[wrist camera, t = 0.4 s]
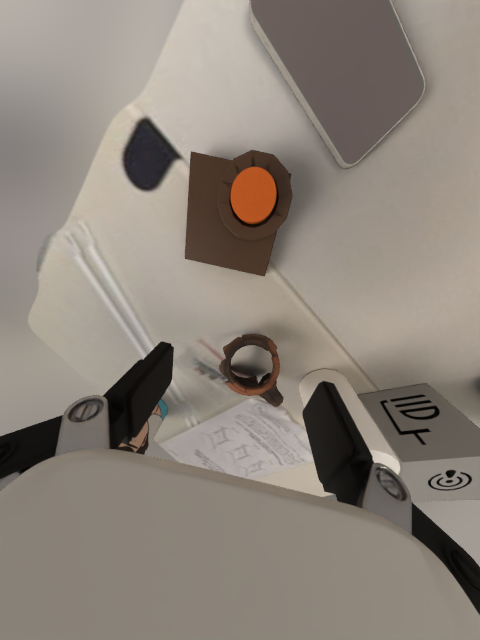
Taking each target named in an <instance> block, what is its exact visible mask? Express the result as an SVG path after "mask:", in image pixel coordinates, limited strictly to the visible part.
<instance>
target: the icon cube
mask: <svg viewBox="0 0 480 640" xmlns="http://www.w3.org/2000/svg"><path fill="white" fill-rule="evenodd" d="M358 397H359V399H360V401H361V402H362V404H363V405H364V407H365V409H366V410H367V412H368V413H369V415H370V416H371V418H372V420H373V421H374V423H375V424H376V426H377V427H378V429H379V430H380V432H381V434H382V435H383V437H384V438H385V440H386V441H387V443H388V445H389V446H390V448H391V449H392V451H393V452H394V454H395V455H396V457H397V459H398V460H399V463H400V472H399V474H398V476H399V477H400V478H401V479H402V481H403V482H404V483H405V485H406V486H407V488H408V490H409V492H410V495H411V499H412V502H425V501H453V500H454V501H455V500H480V428H479V427H478V426H476V425H475V424H474V423H473V422H472V421H470V420H469V419H468V418H467V417H466V416H465V415H463V414H462V413H461V412H460V411H459V410H457V409H456V408H455V407H454V406H453V405H451V404H450V403H449V402H448V401H447V400H446V399H444V398H443V397H442V396H441V395H440V394H438V393H437V392H436V391H435V390H434V389H432V388H431V387H430V386H429V385H428V384H427V383H425V384H420V385H414V386H408V387H402V388H396V389H390V390H384V391H378V392H373V393H367V394H361V395H358Z"/></svg>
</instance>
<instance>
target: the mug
mask: <svg viewBox="0 0 480 640" xmlns="http://www.w3.org/2000/svg"><path fill="white" fill-rule="evenodd" d="M322 381H327V382H331V383H334V385H335V386H336V388H337V390H338V392H339V394H340V396H341V398H342V400H343V401H344V403H345V405H346V407H347V409H348V411H349V413H350V415H351V416H352V418H353V420H354V422H355V424H356V426H357V428H358V430H359V432H360V433H361V435H362V437H363V439H364V441H365V443H366V445H367V447H368V448H369V450H370V452H371V454H372V456H373V458H372V459H373V461H374V463H381V464H383V465H386V466H387V467H389V468H390V469H392V470H393V471H394V472H395V473H396V474H397V475H398V474H399V472H400V463H399V460H398V459H397V457H396V455H395V454H394V452H393V451H392V449H391V448H390V446H389V445H388V443H387V441H386V440H385V438H384V437H383V435H382V434H381V432H380V430H379V429H378V427H377V426H376V424H375V423H374V421H373V420H372V418H371V416H370V415H369V413H368V412H367V410H366V409H365V407H364V405H363V404H362V402H361V401H360V399H359V398H358V396H357V394H356V393H355V391H354V390H353V388H352V387H351V385H350V384H349V382H348V380H347V379H346V377H345V376H344V375H342V374H341V373H339V372H337V371H335V370H330V369H320V370H316V371H313V372H311V373H309V374H307V375H306V376H305V377H304V378H303V379H302V381H301V383H300V387H299V390H300V394H301V398H302V402H303V405H304V408H305V406H306V405H307V403H308V401H309V399H310V398H311V396H312V394H313V392H314V391H315V389H316V387H317V385H318V384H319V383H320V382H322Z"/></svg>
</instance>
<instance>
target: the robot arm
mask: <svg viewBox="0 0 480 640" xmlns="http://www.w3.org/2000/svg"><path fill="white" fill-rule="evenodd" d="M173 352H174V347H172V346H171V344H170V343H166V342H160V343H159V344H158V345H157V346H156V347H155V348H154V349H153V350H152V351H151V352H150V353H149V354H148V355H147V356H146V357H145V358H144V360H142V359H141V360H139V361H138V362H137V363H136V364H135V365H134V366H133V367H132V368H131V369H130V370H129V371H128V372H127V373H126V374H125V375H123V376H122V377H121V378H120V379H119V380H118V381H117V382H116V383H115V384H114V385H113V386H112V387H111V388H110V389H109V390H108V391H107V392H106V393H105V394H104V395H103V396H100V395H92V396H87V397H84V398H81V399H79V400H78V401H76V402H74V403H73V404H72V405H70V406H69V407H68V408H67V410H66V411H65V412H64V415H62V416H59V417H56V418H53V419H50V420H47V421H44V422H41V423H38V424H35V425H32V426H30V427H27V428H24V429H21V430H18V431H15V432H12V433H9V434H6V435H3V436H0V640H480V567H479V566H478V564H477V563H476V562H475V561H474V559H473V558H472V557H471V556H470V555H469V554H468V553H467V552H466V551H465V550H464V549H463V548H462V547H460V546H459V545H458V544H457V543H456V542H455V541H454V540H452V538H450V537H449V536H448V535H447V534H446V533H445V532H444V531H443V530H442V529H441V528H439V527H438V526H437V525H436V524H435V523H434V522H433V521H432V520H431V519H430V518H428V517H427V516H426V515H425V514H424V513H423V512H422V511H421V510H420V509H419V508H417V507H416V506H415V505H414V504H413V503H412V499H411V495H410V492H409V490H408V488H407V486H406V485H405V483H404V482H403V481H402V479H401V478H400V477H399V476H398V475H397V474H396V473H395V472H394V471H393V470H392V469H390V468H389V467H387V466H386V465H383V464H381V463H374V461H373V459H372V458H373V456H372V454H371V452H370V450H369V448H368V447H367V445H366V443H365V441H364V439H363V437H362V435H361V433H360V432H359V430H358V428H357V426H356V424H355V422H354V420H353V418H352V416H351V415H350V413H349V411H348V409H347V407H346V405H345V403H344V401H343V400H342V398H341V396H340V394H339V392H338V390H337V388H336V386H335V385H334V383H331V382H327V381H322V382H320V383H319V384H318V385H317V387H316V389H315V391H314V392H313V394H312V396H311V398H310V399H309V401H308V403H307V405H306V406H305V408H304V410H303V419H304V423H305V427H306V430H307V434H308V438H309V442H310V446H311V450H312V454H313V458H314V462H315V466H316V470H317V474H318V478H319V480H320V482H321V483H322V484H323V488H324V491H325V492H329V493H333V494H336V497H337V501H334V500H331V499H327V498H323V497H319V496H315V495H311V494H307V493H303V492H299V491H295V490H291V489H287V488H283V487H279V486H275V485H271V484H267V483H262V482H258V481H254V480H250V479H246V478H242V477H238V476H233V475H229V474H225V473H221V472H217V471H213V470H208V469H204V468H200V467H196V466H191V465H187V464H183V463H178V462H174V461H170V460H165V459H161V458H156V457H152V456H147V455H143V454H138V453H133V452H128V451H121V450H115V449H116V448H118V447H119V446H120V444H121V443H126V444H129V443H130V441H131V440H132V438H136V437H137V436H138V434H139V433H140V431H141V430H142V428H143V426H144V425H145V423H146V422H147V420H148V418H149V417H150V415H151V414H152V412H153V410H154V409H155V407H156V406H157V404H158V402H159V401H160V399H161V398H162V396H163V394H164V393H165V391H166V389H167V388H168V386H169V385H170V383H171V380H172V369H173Z"/></svg>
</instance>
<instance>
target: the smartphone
mask: <svg viewBox="0 0 480 640" xmlns="http://www.w3.org/2000/svg"><path fill="white" fill-rule="evenodd" d="M249 10H250V21H251V24H252V26H253V28H254V30H255V32H256V33H257V35H258V36H259V38H260V40H261V41H262V43H263V44H264V46H265V48H266V49H267V51H268V52H269V54H270V56H271V57H272V59H273V60H274V62H275V64H276V65H277V67H278V68H279V70H280V72H281V73H282V75H283V76H284V78H285V79H286V81H287V83H288V84H289V86H290V87H291V89H292V91H293V92H294V94H295V95H296V97H297V99H298V100H299V102H300V103H301V105H302V107H303V108H304V110H305V111H306V113H307V115H308V116H309V118H310V119H311V121H312V122H313V124H314V126H315V127H316V129H317V130H318V132H319V134H320V135H321V137H322V138H323V140H324V142H325V143H326V145H327V146H328V148H329V150H330V151H331V153H332V154H333V156H334V158H335V159H336V161H337V162H338V164H339V165H340V166H341V167H342V168H345V169H347V168H351V167H353V166H354V165H355V164H357V163H358V162H359V161H360V160H361V159H362V158H363V157H364V156H365V155H366V154H367V153H368V152H369V151H370V150H371V149H372V148H373V147H374V146H376V145H377V144H378V143H379V142H380V141H381V140H382V139H383V138H384V137H385V136H386V135H387V134H388V133H389V132H390V131H391V130H392V129H393V128H394V127H395V126H396V125H397V124H398V123H399V122H400V121H401V120H402V119H403V118H404V117H405V116H406V115H407V114H408V113H409V112H410V111H411V110H412V109H413V108H414V107H415V106H416V105H417V104H418V102H419V101H420V100H421V98H422V96H423V94H424V91H425V85H426V83H425V77H424V75H423V73H422V70H421V68H420V66H419V63H418V61H417V59H416V56H415V54H414V52H413V49H412V47H411V45H410V42H409V40H408V38H407V35H406V33H405V31H404V28H403V26H402V24H401V21H400V19H399V17H398V14H397V12H396V10H395V8H394V5H393V3H392V1H391V0H249Z"/></svg>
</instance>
